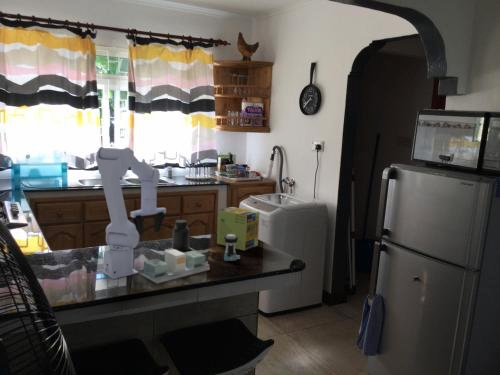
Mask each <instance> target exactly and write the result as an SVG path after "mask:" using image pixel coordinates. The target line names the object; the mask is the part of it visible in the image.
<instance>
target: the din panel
mask: <svg viewBox="0 0 500 375" xmlns="http://www.w3.org/2000/svg"><path fill="white" fill-rule="evenodd" d="M184 253H185V254H186V265H185V270H184V271H180V272H176V273H175V272H173V271H171V270H169V269H168V264H167V263H165V261H163V260H161V259H158V258H153V259H148V260H145V261H143V267H142V268H139V275H140V276H142V277H144V278H146V279H148V280H149V281H151V282H153V283H155V284H161V283H165V282H169V281H173V280H175V279H179V278H184V277H186V276H191V275H194V274H199V273H202V272H206V271H209V270H210V269H211V268H210V264H206V255H205V254H203V253H202V252H201V253H200V252H198V251H197V250H191V251H189V250H188V251H184Z"/></svg>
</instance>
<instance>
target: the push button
mask: <svg viewBox="0 0 500 375" xmlns="http://www.w3.org/2000/svg"><path fill="white" fill-rule="evenodd" d="M224 239H225V242H226V246H225V251H224V253H223V260H224V262H229V261H237V260H238V259H239V260H240V259H241V257H239V255H237V252H236V248H235V243H236V242H237V239H238V237H236V235H234V234H227V236H225V237H224ZM228 244H229V245H228Z"/></svg>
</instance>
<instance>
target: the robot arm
mask: <svg viewBox="0 0 500 375" xmlns="http://www.w3.org/2000/svg"><path fill="white" fill-rule="evenodd" d="M95 160H96V164H97V169H98V173H99V174H100V179H101V184H102V188H103V193H104V196H105V200H106V205H107V209H108V213H109V219H110V223H109V224H108V225H107V226H106V228H105V242H106V244H107V245H108V246H109V249H108V250H105V251H104V252H103V256H102V257H103V259H102V260H103V262H102V263H103V264H102V265H103V270H102V273H103V274H104V275H106V276H107V277H109V278H110V279H112V280H115V279H119V278H123V277H127V276H132V275H136V274H139V271H138V270H136V269H135V268H134V249H135V248H136V247H137V246H138V244H139V241H140V236H143V226H144V221H145V218H143V216H150V215H152V216H153V220H154V221H153V224H154V226H153V229H154V232H156V233H159V232H160V229H161V227H162V224H163V222H164V219H165V217H166V213H167V208H166V207H157V204H158V203H157V195H158V194H157V192H158V191H157V190H158V187H159V183H160V182H159V181H160V178H161V177H160V176H161V174H160V170H159V169H158V168H157V167H152V166H151V165H150V163H148V162H146V159H144V158H139V159H138V158H137V157H136V156H135V155H134V152H133V149H131V148H130V147H128V146H125V147H122V146H121V147H120V146H107V145H101V146H99V148H98V150H97V153H96V156H95ZM129 168H130V170H131V172H132V173H133V174H134V175H136V177H138V181H139V182H140V184H141V187H140V188H141V190H140V192H141V194H140V198H141V199H140V209H137V210H133V211H130V214H129V215H130V217H131V220H132V222H131V221H130V220H129V219H128V215H127V209H126V204H125V199H124V196H123V190H122V186H121V185H122V184H121V180H120V178H122V177H125V175H126V174H127V172H128V170H129Z"/></svg>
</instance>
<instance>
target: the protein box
mask: <svg viewBox="0 0 500 375" xmlns="http://www.w3.org/2000/svg"><path fill="white" fill-rule="evenodd" d="M217 214H218V215H217V235H216V244H217V245H220V246H225V247H226V242H225V239H224V237H225V236H227V234H234V235H236V237H238V239H237V242H236V243H235V250H236V249H237V250H240V251H247V250H250V249H252V247H253V248H255V247H258V246H259V230H260V228H259V227H260V211H258V210H251V209H247V208H241V207H234V206H231V207H230V206H229V207H225V208H221V209H218V212H217ZM228 245H229V244H228Z"/></svg>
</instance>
